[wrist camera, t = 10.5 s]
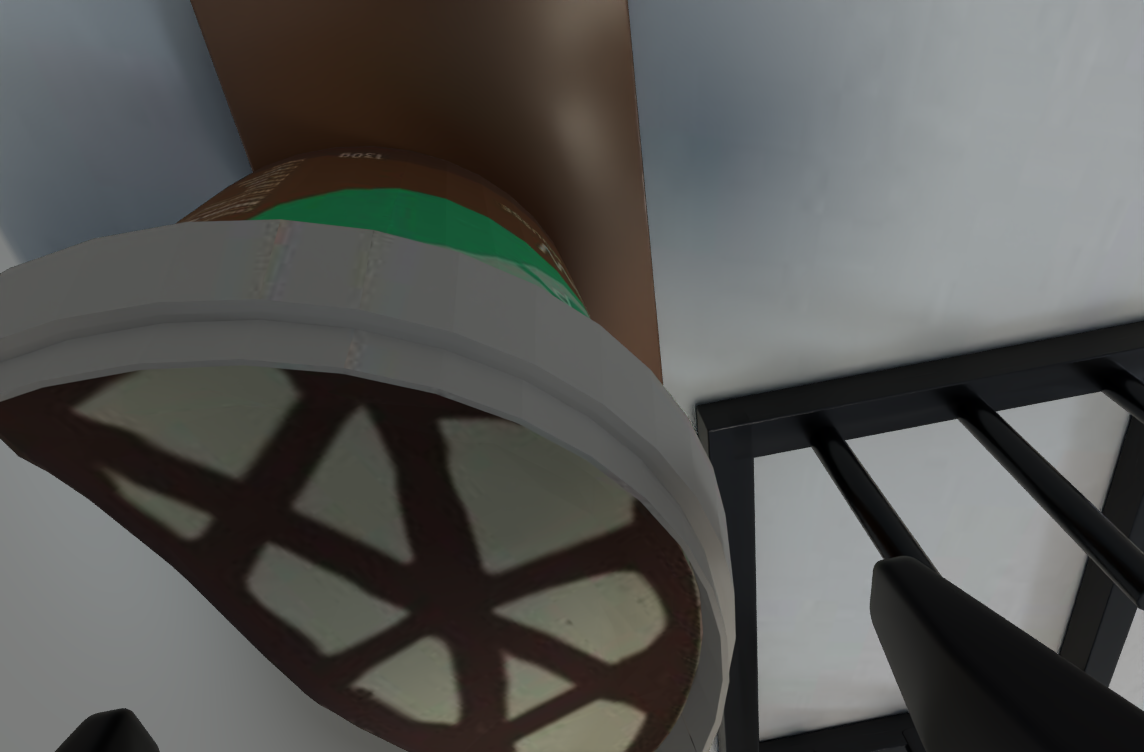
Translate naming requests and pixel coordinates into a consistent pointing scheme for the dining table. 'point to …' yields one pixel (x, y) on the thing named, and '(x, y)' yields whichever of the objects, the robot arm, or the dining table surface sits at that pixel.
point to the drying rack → (883, 404)
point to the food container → (390, 455)
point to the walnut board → (465, 113)
